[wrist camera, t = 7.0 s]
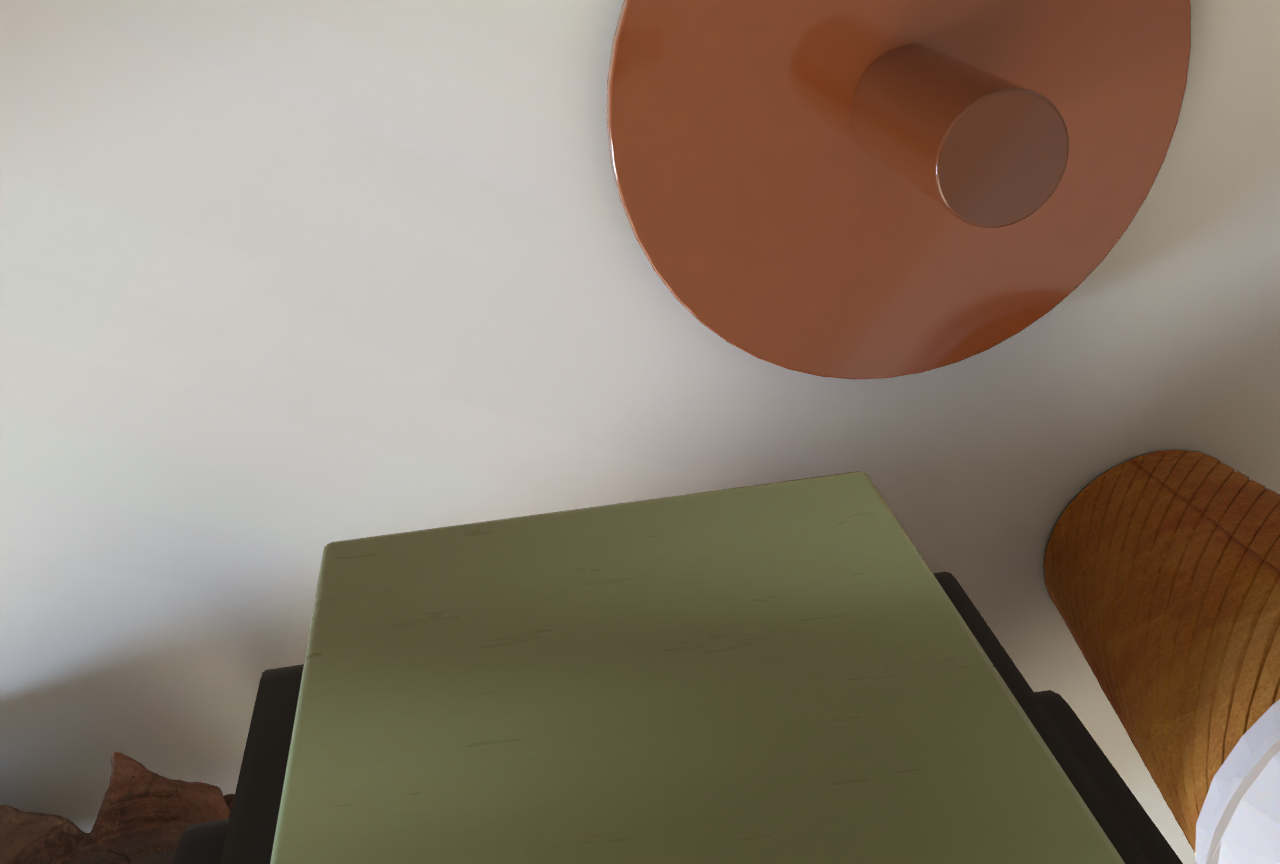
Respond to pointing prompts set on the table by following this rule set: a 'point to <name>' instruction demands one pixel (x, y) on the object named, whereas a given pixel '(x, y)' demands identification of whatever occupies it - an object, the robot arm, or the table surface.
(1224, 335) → the table surface
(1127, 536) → the disposable coffee cup
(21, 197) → the table surface
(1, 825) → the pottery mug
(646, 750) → the tea block
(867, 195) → the lid
